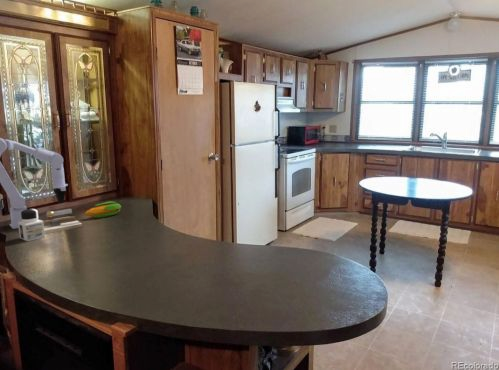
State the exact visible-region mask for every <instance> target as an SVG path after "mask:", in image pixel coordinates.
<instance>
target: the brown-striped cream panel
mask: <svg viewBox="0 0 499 370" xmlns="http://www.w3.org/2000/svg"><path fill="white" fill-rule="evenodd" d="M47 218H48V219H47V220H42V221H43V224H44V233H45V235H48V234H53V233H56V232H61V231H68V230H72V229H77V228H83V223H82V222H81V221H80V220H77V216H74V215H73V216H64V217H59V218H54V217H47Z"/></svg>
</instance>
